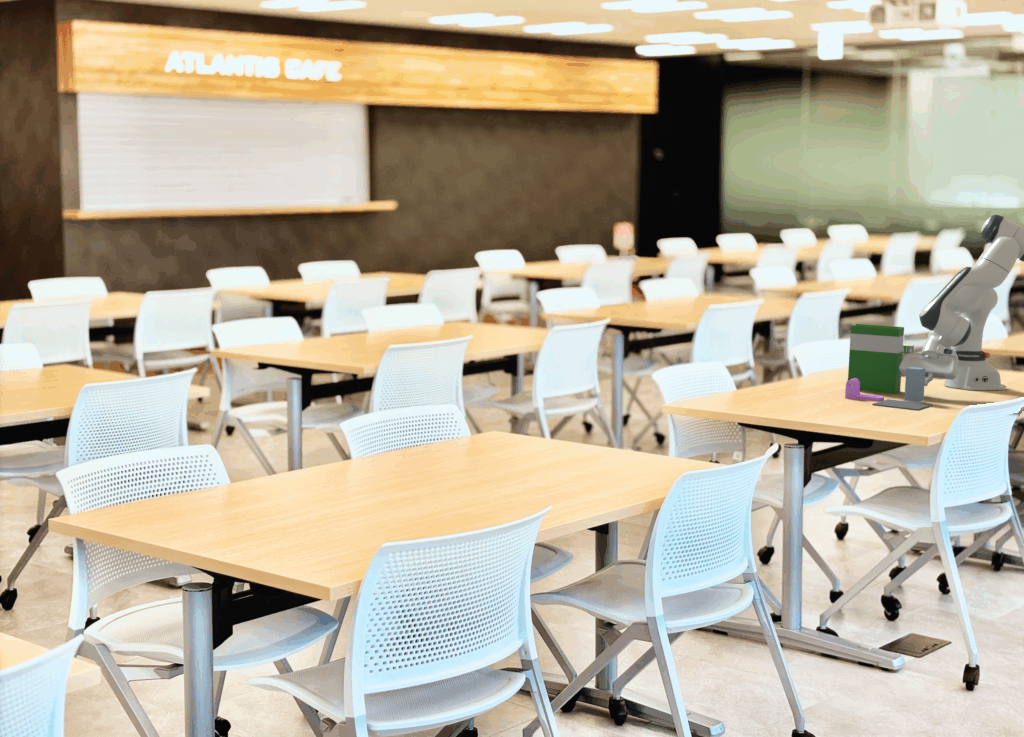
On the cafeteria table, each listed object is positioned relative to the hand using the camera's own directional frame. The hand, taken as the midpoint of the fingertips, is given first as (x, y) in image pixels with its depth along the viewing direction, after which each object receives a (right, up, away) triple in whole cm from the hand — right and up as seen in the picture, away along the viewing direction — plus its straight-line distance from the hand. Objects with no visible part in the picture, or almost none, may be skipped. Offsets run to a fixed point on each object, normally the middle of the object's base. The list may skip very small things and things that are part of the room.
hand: (922, 384), depth 470 cm
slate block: (-4, -6, -4) cm, 9 cm away
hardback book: (-12, -3, +21) cm, 24 cm away
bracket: (-20, -6, 0) cm, 21 cm away
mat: (-11, -7, -13) cm, 18 cm away
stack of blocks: (+15, +3, +67) cm, 68 cm away
